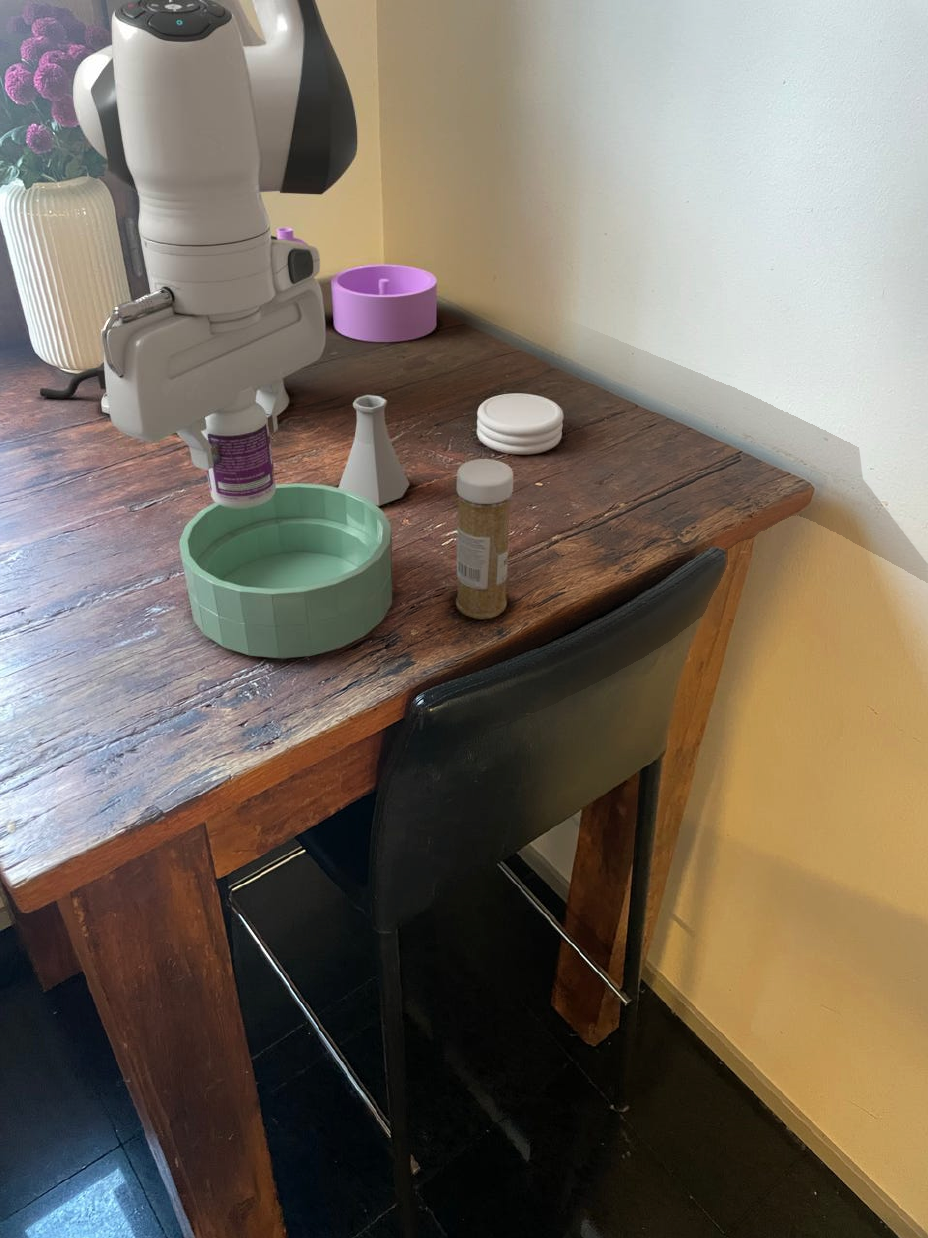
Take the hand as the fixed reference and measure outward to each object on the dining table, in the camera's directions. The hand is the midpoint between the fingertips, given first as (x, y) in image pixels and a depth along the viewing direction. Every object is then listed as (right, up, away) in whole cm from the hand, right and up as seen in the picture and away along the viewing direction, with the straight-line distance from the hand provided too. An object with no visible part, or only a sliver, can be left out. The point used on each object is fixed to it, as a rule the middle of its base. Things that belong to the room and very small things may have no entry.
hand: (237, 448), depth 75 cm
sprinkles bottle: (+20, -13, +8) cm, 25 cm away
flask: (+9, 0, +24) cm, 26 cm away
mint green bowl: (+3, -12, +8) cm, 15 cm away
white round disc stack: (+25, +8, +35) cm, 44 cm away
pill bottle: (0, -3, +3) cm, 4 cm away
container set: (+2, +30, +65) cm, 71 cm away
